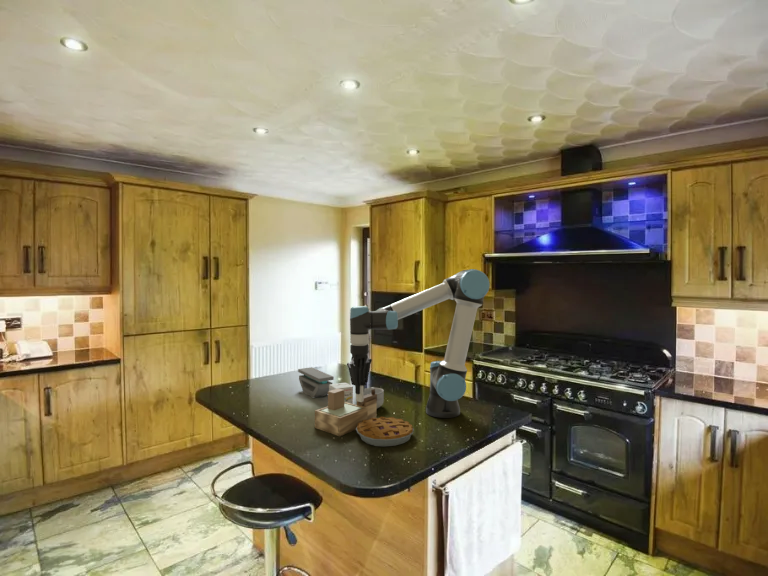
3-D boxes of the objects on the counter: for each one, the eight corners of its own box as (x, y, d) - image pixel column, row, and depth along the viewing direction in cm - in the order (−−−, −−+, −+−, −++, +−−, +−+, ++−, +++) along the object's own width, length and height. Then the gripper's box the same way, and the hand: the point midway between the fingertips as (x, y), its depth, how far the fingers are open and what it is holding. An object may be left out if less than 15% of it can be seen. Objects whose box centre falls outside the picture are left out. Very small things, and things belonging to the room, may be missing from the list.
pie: (368, 452, 146) (368, 438, 146) (348, 431, 166) (348, 418, 166) (424, 443, 155) (424, 429, 155) (398, 423, 175) (398, 411, 175)
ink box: (335, 414, 185) (335, 388, 184) (328, 409, 192) (328, 383, 192) (353, 412, 188) (353, 386, 188) (345, 406, 196) (346, 381, 196)
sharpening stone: (333, 398, 209) (333, 376, 209) (319, 401, 204) (319, 378, 204) (311, 387, 229) (311, 367, 229) (298, 389, 225) (298, 369, 225)
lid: (361, 410, 172) (361, 391, 172) (339, 418, 162) (340, 398, 162) (342, 405, 179) (342, 386, 178) (320, 412, 169) (320, 393, 169)
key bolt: (376, 400, 181) (377, 389, 180) (363, 405, 174) (363, 393, 173) (372, 399, 182) (372, 388, 182) (358, 404, 175) (358, 392, 175)
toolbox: (378, 420, 178) (378, 399, 178) (339, 436, 160) (339, 413, 160) (353, 413, 187) (353, 393, 186) (314, 427, 169) (314, 406, 168)
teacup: (380, 411, 189) (381, 394, 189) (357, 410, 191) (357, 392, 191) (386, 402, 203) (387, 386, 202) (364, 401, 205) (365, 384, 205)
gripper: (363, 341, 180) (363, 395, 181) (341, 345, 170) (342, 403, 171) (376, 342, 175) (377, 399, 176) (355, 347, 165) (355, 406, 166)
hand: (359, 401), depth 173 cm, fingers closed
